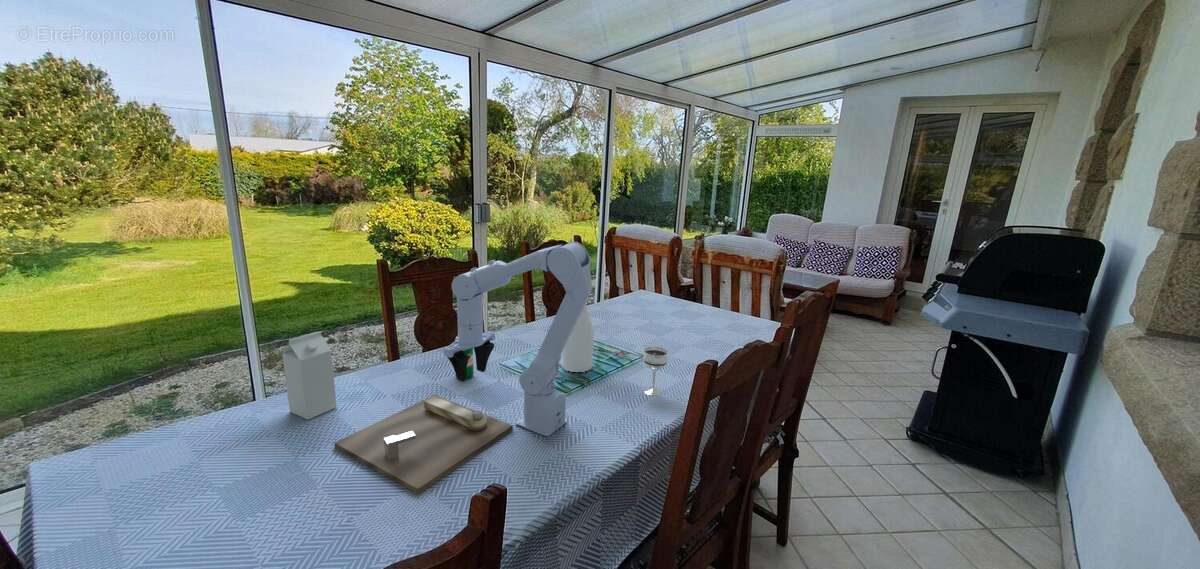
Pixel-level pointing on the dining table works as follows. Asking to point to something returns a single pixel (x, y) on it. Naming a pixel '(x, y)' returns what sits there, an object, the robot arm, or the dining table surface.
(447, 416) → the swing bar
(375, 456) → the base board
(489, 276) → the robot arm
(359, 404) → the dining table surface
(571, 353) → the wine bottle
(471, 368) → the soda can
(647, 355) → the wineglass
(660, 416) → the dining table surface
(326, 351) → the milk carton
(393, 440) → the block
